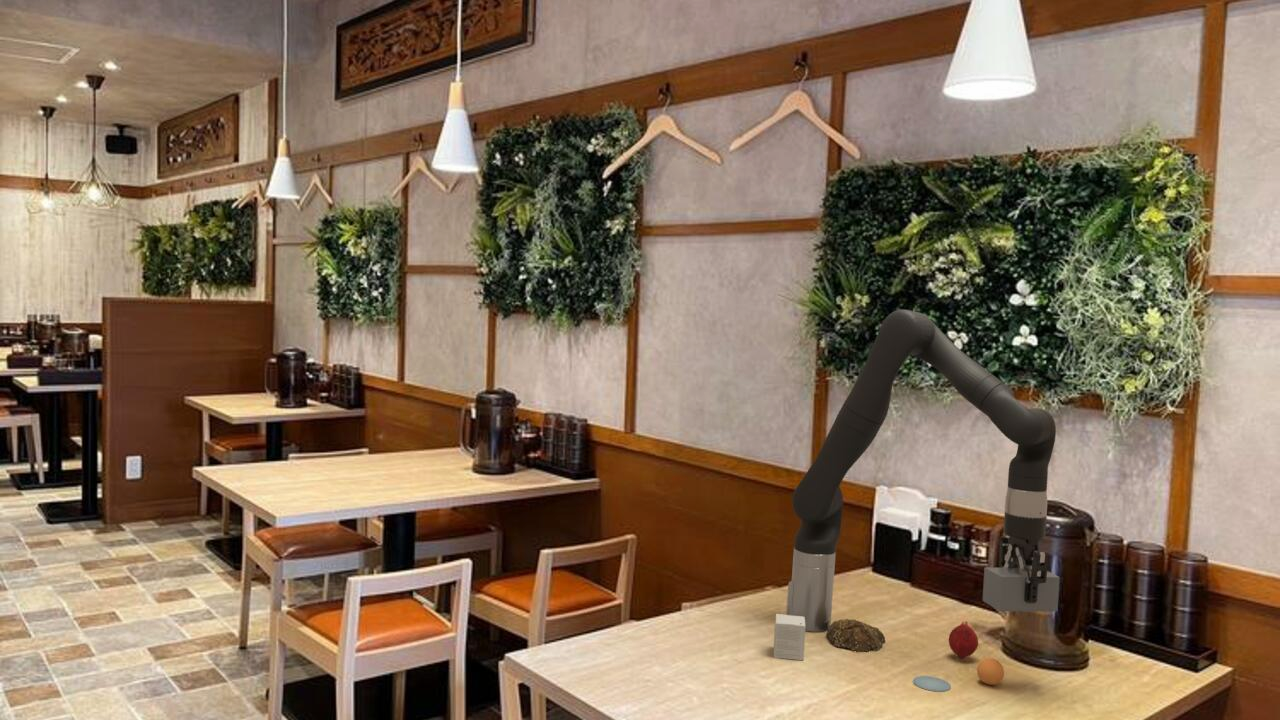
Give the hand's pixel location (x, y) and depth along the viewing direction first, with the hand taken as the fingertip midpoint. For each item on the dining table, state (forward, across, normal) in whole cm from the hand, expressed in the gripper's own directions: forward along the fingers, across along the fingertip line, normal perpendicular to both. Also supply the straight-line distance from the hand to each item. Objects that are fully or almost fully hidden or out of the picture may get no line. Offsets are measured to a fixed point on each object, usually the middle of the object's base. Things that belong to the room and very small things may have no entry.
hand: (1020, 596), depth 186 cm
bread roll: (+18, +23, +24) cm, 38 cm away
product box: (+17, +16, +41) cm, 47 cm away
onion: (+18, +14, +4) cm, 23 cm away
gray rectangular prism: (+2, 0, 0) cm, 2 cm away
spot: (+17, +1, +17) cm, 24 cm away
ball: (+15, +1, +5) cm, 16 cm away
